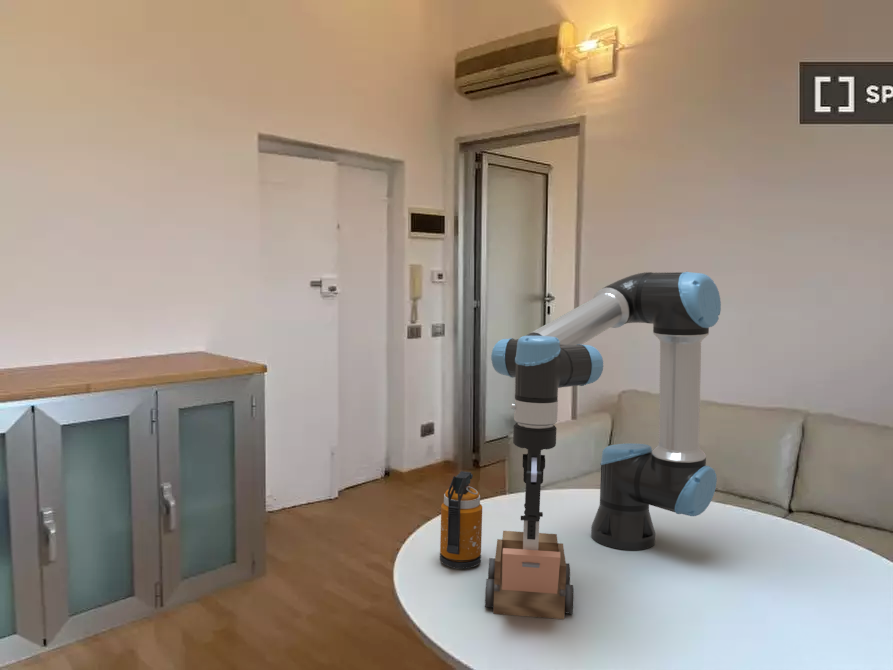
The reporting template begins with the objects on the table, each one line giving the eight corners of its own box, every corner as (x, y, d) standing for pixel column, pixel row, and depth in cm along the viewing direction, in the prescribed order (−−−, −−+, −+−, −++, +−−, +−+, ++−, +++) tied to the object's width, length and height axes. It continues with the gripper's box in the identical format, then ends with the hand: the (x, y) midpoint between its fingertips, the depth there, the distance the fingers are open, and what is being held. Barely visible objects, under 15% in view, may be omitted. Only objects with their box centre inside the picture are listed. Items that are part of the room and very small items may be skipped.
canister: (485, 558, 151) (488, 470, 149) (471, 578, 140) (473, 483, 139) (447, 552, 154) (449, 465, 152) (430, 571, 143) (432, 478, 142)
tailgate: (557, 588, 124) (560, 551, 118) (557, 595, 122) (560, 559, 116) (502, 584, 125) (502, 548, 119) (502, 591, 124) (502, 555, 118)
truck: (567, 582, 139) (569, 534, 139) (573, 621, 123) (575, 568, 122) (489, 576, 141) (490, 529, 140) (484, 614, 125) (486, 561, 124)
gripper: (514, 415, 125) (510, 539, 127) (512, 430, 113) (508, 567, 114) (555, 417, 125) (550, 542, 126) (558, 432, 112) (552, 571, 113)
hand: (530, 554), depth 120 cm, fingers closed
